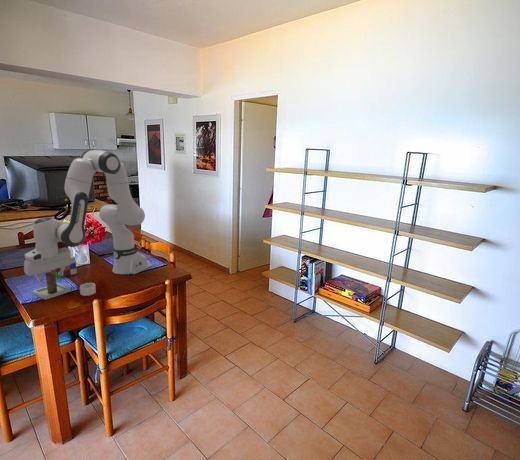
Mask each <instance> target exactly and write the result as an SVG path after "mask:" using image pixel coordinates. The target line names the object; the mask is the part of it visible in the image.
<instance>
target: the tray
mask: <svg viewBox="0 0 520 460" xmlns="http://www.w3.org/2000/svg"><path fill="white" fill-rule="evenodd" d="M56 284H57V292H56V293H53V294H49V293H48V290H47V285H46V286H43V287H40V288H37V289H36V288H35V289H34V290H32V294H34V295H36V296H37V297H39V298H41V299H43V300H44V301H47V300H49V299H52V298H53V299H54V298H55V297H58V296H62V295H64V294H68V293H70V292H72V289H71V288H70V287H68V286H65V285H64V284H61V283H59V282H56Z"/></svg>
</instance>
